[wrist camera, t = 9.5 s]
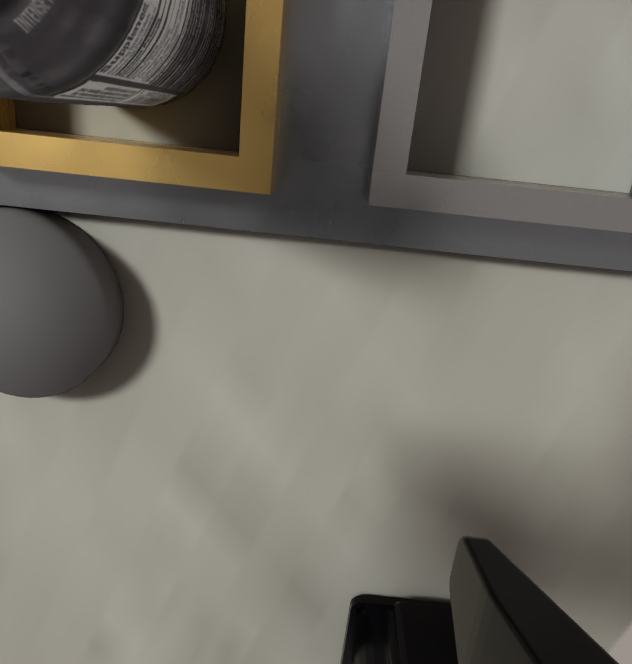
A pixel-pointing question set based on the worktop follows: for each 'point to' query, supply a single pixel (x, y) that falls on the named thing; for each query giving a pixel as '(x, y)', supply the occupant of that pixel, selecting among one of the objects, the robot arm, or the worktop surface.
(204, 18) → the pill bottle
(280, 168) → the faceplate
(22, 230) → the grey puck
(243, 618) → the worktop surface
